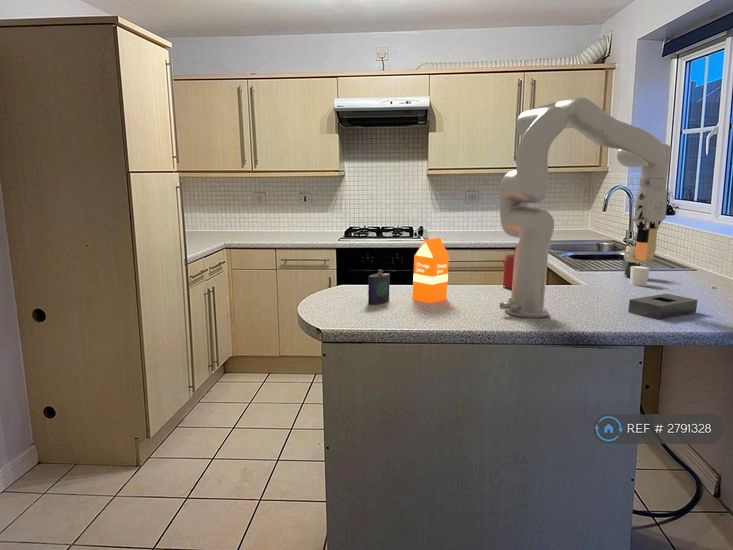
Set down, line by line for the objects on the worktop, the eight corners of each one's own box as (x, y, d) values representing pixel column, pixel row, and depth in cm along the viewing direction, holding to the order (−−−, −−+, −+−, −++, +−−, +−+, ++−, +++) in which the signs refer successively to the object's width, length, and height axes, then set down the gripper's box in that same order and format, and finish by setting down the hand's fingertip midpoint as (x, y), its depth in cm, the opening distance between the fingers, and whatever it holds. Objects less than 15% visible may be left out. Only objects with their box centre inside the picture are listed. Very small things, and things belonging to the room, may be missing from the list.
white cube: (651, 286, 213) (653, 268, 212) (633, 286, 213) (635, 268, 212) (642, 283, 220) (644, 265, 218) (625, 282, 220) (627, 265, 218)
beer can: (507, 285, 208) (509, 253, 206) (523, 287, 204) (526, 255, 202) (499, 287, 203) (501, 255, 201) (516, 290, 199) (518, 257, 197)
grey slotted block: (659, 319, 162) (660, 306, 162) (628, 311, 171) (629, 299, 170) (695, 312, 173) (697, 299, 172) (664, 305, 181) (666, 293, 180)
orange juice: (412, 298, 181) (414, 238, 177) (428, 295, 187) (430, 236, 183) (431, 303, 175) (434, 241, 172) (447, 299, 182) (450, 239, 178)
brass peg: (645, 260, 174) (649, 229, 173) (634, 258, 178) (638, 227, 176) (653, 259, 176) (657, 228, 175) (642, 258, 180) (645, 227, 178)
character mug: (628, 279, 227) (631, 248, 225) (615, 276, 234) (618, 245, 231) (649, 278, 231) (652, 247, 228) (635, 275, 237) (639, 245, 235)
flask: (384, 299, 179) (386, 267, 177) (391, 301, 177) (393, 268, 175) (365, 304, 172) (366, 270, 170) (372, 305, 170) (373, 271, 168)
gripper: (647, 184, 166) (640, 244, 169) (680, 185, 174) (672, 242, 177) (625, 183, 172) (618, 241, 175) (657, 184, 180) (650, 239, 183)
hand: (645, 241), depth 176 cm, fingers closed on brass peg, 4 cm apart
